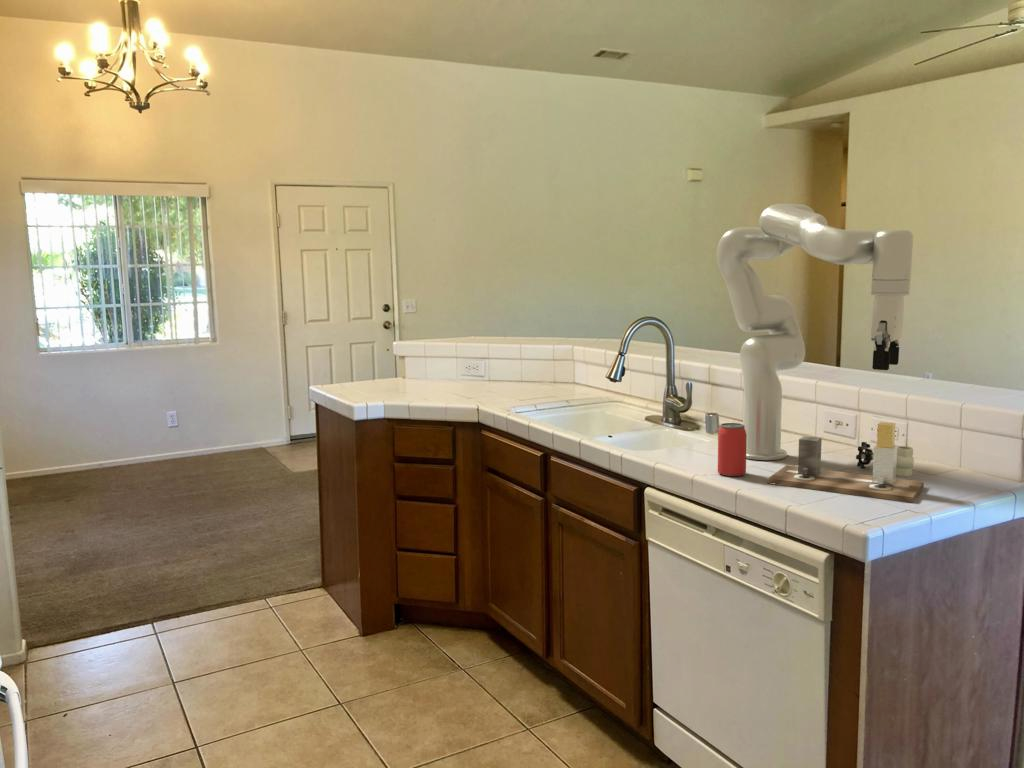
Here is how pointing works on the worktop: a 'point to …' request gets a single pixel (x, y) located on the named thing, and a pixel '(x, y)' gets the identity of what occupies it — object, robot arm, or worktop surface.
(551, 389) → the worktop surface
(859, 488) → the bolt plate
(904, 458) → the valve
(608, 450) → the worktop surface
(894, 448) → the block
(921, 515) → the worktop surface
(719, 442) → the beer can
